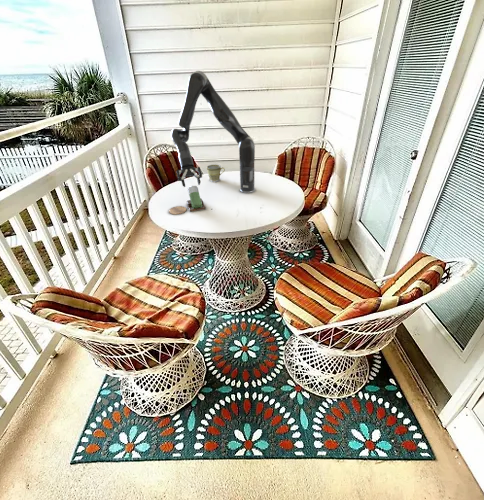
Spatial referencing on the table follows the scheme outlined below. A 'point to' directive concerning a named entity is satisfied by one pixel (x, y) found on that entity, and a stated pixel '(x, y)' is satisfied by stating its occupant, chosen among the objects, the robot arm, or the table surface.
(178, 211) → the cork coaster
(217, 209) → the table surface
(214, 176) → the ceramic cup
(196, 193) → the green can
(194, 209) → the walnut rest
